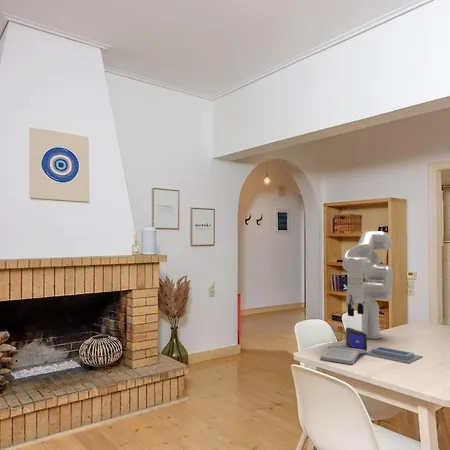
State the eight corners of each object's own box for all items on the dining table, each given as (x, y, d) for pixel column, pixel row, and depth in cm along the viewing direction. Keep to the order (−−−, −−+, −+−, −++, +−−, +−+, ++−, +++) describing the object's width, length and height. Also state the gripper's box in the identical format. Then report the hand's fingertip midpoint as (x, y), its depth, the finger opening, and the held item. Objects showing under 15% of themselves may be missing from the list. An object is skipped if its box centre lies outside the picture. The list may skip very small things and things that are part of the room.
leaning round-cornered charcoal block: (341, 345, 219) (340, 327, 219) (348, 344, 220) (348, 326, 220) (359, 353, 203) (359, 333, 204) (367, 352, 204) (367, 333, 205)
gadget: (336, 349, 210) (336, 341, 210) (366, 353, 201) (366, 345, 201) (319, 359, 191) (319, 351, 191) (352, 365, 182) (352, 356, 182)
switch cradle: (378, 348, 212) (378, 344, 212) (422, 357, 196) (422, 352, 196) (363, 354, 201) (363, 349, 201) (408, 363, 185) (408, 358, 185)
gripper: (357, 280, 222) (357, 312, 221) (340, 281, 210) (340, 315, 209) (370, 281, 217) (370, 314, 216) (353, 282, 205) (353, 317, 204)
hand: (355, 315), depth 212 cm, fingers open, 9 cm apart
